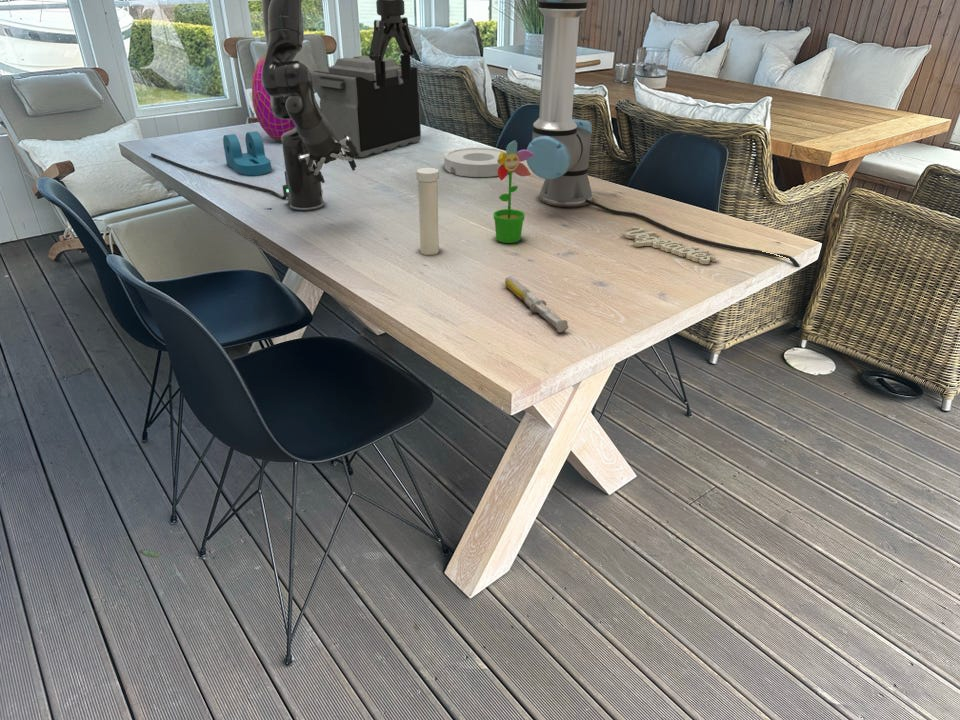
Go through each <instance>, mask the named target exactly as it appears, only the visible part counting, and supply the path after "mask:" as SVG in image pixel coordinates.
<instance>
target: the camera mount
mask: <svg viewBox="0 0 960 720" xmlns="http://www.w3.org/2000/svg"><path fill="white" fill-rule="evenodd" d="M222 140H223V141H222V143H223V149H224V150H223V151H224V156H225V161H226V165H227V166H228V167H230V168H231V169H232V170H234V171H236V172H237V173H238V174H239V175H244V176H260V175H265V174H268V173H271V172H272V164H271V159H270V158H268V157H267V156H266V153H265V145H264V141H263V139H262V136H261V134H260V132H258V131H247V132H246V133H245V146H246V152H243V151H242V150H243V149H242V146H241V142H240V140H239V138H238V135H236V134H235V133H231V134H224V135H223V138H222Z"/></svg>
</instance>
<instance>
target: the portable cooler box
mask: <svg viewBox="0 0 960 720" xmlns="http://www.w3.org/2000/svg"><path fill="white" fill-rule="evenodd" d="M383 61H385V72H386V87H381V86H377V85H376V72H375V61H372V60H371V59H370V58H369V55H368V56H367V55H356V56H353V57H350V58H349V57H343V58H342V57H341V58H337V59H336V60H335V63H334V64H333V65H330V66H329V67H328V72H327V71H320V70H314V71H313V70H312V71H310V72H311V76H312V85H313V90H314V92H315V93H316V94H317V96H318V98H319V108H320V110H321V112H322V113H323V114H324V116H325V117H326V119H327V121H328V123H329V125H330V127H331V129H332V131H333V133H334V135H335V137H336V139H338V140H339V141H340V140H342V139H344V138H345V137H344V136H345V135H346V134H348V135H349V136H350V138H351V140H352V142H353V143H354V145H355V147H356V149H357V152H358V154H359V156H358V157H357V158H362V159H363V158H366V157H367V158H368V157H369V155H371V154H375V155H377V154H381V153H382V152H383V151H391V150H395V149H396V148H397V147H405V146H407V145H408V144H416V143H418V142H419V141H421V137H422V128H421V97H420V92H419V91H420V89H419V68H418V67H417V66H411V80H402V74H401V64H396V62H395V60H394V59H393V58H385V57H384V58H383ZM342 148H343V149H345V150H347V151H351V150H350V148H349V147H348V148H347V147H345V146H344V145H342Z"/></svg>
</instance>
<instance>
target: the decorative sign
mask: <svg viewBox="0 0 960 720" xmlns="http://www.w3.org/2000/svg"><path fill="white" fill-rule="evenodd" d="M624 238H626V239H629V240H630V239H631V240H634V247H636V248H639V247H653V248H655V249H660V250H661V251H663V252H667V253H671V254H673V255H677V256H679V257H685V259H687V260H691V261H693V262H696V263H697V262H698V263H700V264H702V265H709V264H710V261H711V262H712V263H715V262H716V258H717V257H716V256H715V255H711V254H710V250H709V249H700V247H699V246H697V245H696V246H686V247H685V246H684V245H683V243H682V242H681V241H677V240H676V241H675V240H673V239H667V240H666V239H662V238H658V237H657V232H656V231H645V228H643V227H639V226H631V229H630V231H625V234H624ZM709 254H710V255H709Z"/></svg>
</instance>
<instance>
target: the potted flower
mask: <svg viewBox="0 0 960 720" xmlns="http://www.w3.org/2000/svg"><path fill="white" fill-rule="evenodd" d="M505 151H506V153H507V154H506V153H505V152H501V153H500V155H499V157H498V160H497V162H498V163H499V164H502V165H501V166H500V167H499V168H498V176H497V177H498V178H499V180H500V181H501V182H502V181H503V180H504V179H505V178H506V177H507V175H508V193H502V194H501V195H499V196H498V199H500V201H502V202H507V208H503V209H499V210H496V211H494V212H493V220H494V227H495V228H494V229H495V238H496V241H498V242H500V243H504V244H515V243H518V242H520V240H521V237H522V232H523V225H524V221H525V217H526V214H525V212H523V211H521V210H518V209H512V208H511V207H512V193H514V192H516V191H517V189H518V188H519V186H518V185H512V184H513V183H512V181H513V177H512V176H513V172H514V173H515V174H516V175H517V176H519V177H529V176H531V175H532V174H531V172H530V170H529V168H528V167H527V166H526V165H525V164H524V163H522V162H526V160H527V159H529V158H531V157H532V156H534V154H533V153H532V152H530V151H529V150H527V149H520V150H518V142H517V140H516V139H514V140H512V141H511V142H509V143H508V144H507V146H506V147H505ZM508 171H509V173H508Z"/></svg>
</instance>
